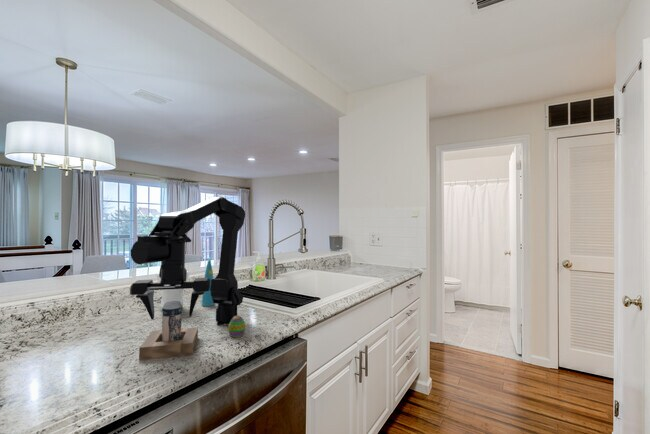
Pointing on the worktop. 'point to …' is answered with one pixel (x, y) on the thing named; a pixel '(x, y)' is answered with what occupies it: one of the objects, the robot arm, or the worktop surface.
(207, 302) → the tube
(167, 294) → the cup
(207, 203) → the robot arm
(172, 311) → the beer can
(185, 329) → the socket
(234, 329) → the egg
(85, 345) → the worktop surface
